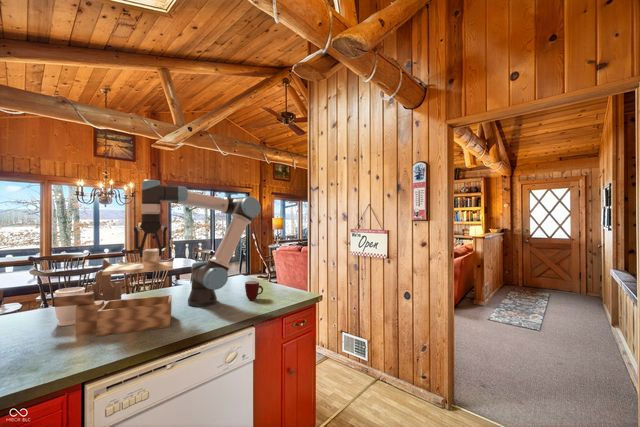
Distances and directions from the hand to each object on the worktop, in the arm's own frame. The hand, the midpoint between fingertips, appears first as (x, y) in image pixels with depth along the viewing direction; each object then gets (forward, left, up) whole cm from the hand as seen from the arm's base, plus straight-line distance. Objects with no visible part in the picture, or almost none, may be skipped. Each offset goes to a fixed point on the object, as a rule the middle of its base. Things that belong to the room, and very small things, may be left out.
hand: (151, 263), depth 135 cm
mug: (-52, -17, -27) cm, 61 cm away
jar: (+32, -11, -27) cm, 43 cm away
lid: (+4, 0, -2) cm, 5 cm away
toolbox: (+8, +4, -26) cm, 28 cm away
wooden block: (+27, +4, -15) cm, 31 cm away
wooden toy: (+24, -33, -27) cm, 49 cm away
